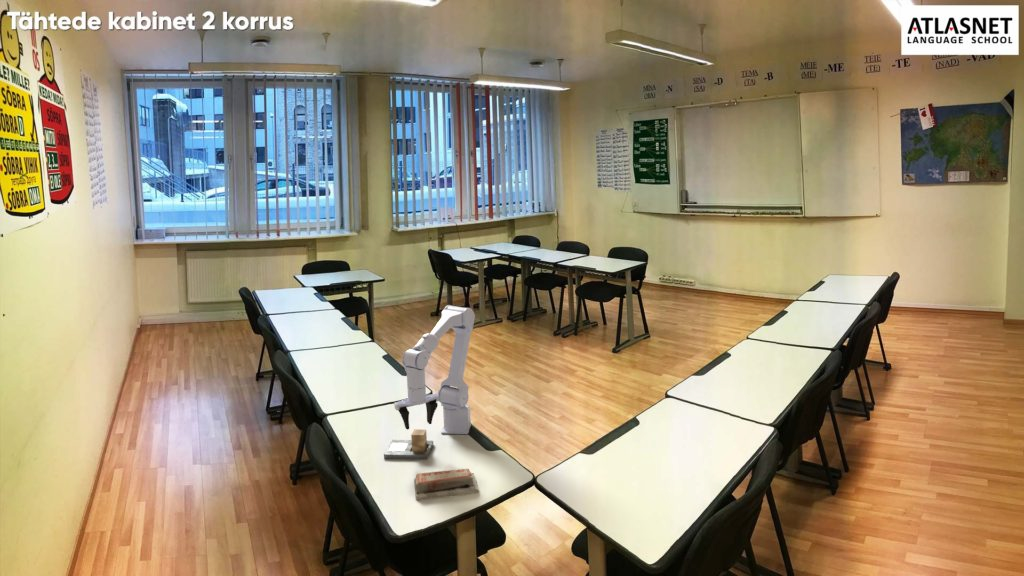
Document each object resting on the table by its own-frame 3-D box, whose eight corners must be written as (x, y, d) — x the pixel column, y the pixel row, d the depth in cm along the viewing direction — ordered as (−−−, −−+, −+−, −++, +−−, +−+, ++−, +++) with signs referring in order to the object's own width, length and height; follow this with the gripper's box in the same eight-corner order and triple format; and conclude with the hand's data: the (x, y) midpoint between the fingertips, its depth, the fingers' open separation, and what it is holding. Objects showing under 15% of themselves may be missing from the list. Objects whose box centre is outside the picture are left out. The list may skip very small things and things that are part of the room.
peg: (427, 449, 197) (426, 429, 195) (424, 455, 193) (423, 435, 191) (415, 448, 197) (414, 429, 196) (412, 454, 193) (411, 434, 192)
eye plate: (433, 444, 200) (433, 440, 199) (427, 459, 190) (426, 455, 189) (392, 443, 201) (392, 439, 200) (384, 458, 191) (383, 454, 191)
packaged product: (414, 486, 166) (413, 469, 176) (415, 502, 167) (414, 483, 177) (478, 479, 170) (473, 462, 179) (478, 494, 171) (474, 476, 180)
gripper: (433, 378, 197) (434, 416, 200) (390, 386, 190) (392, 425, 193) (441, 384, 191) (442, 424, 194) (397, 393, 184) (399, 434, 187)
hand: (418, 425), depth 193 cm, fingers open, 7 cm apart
